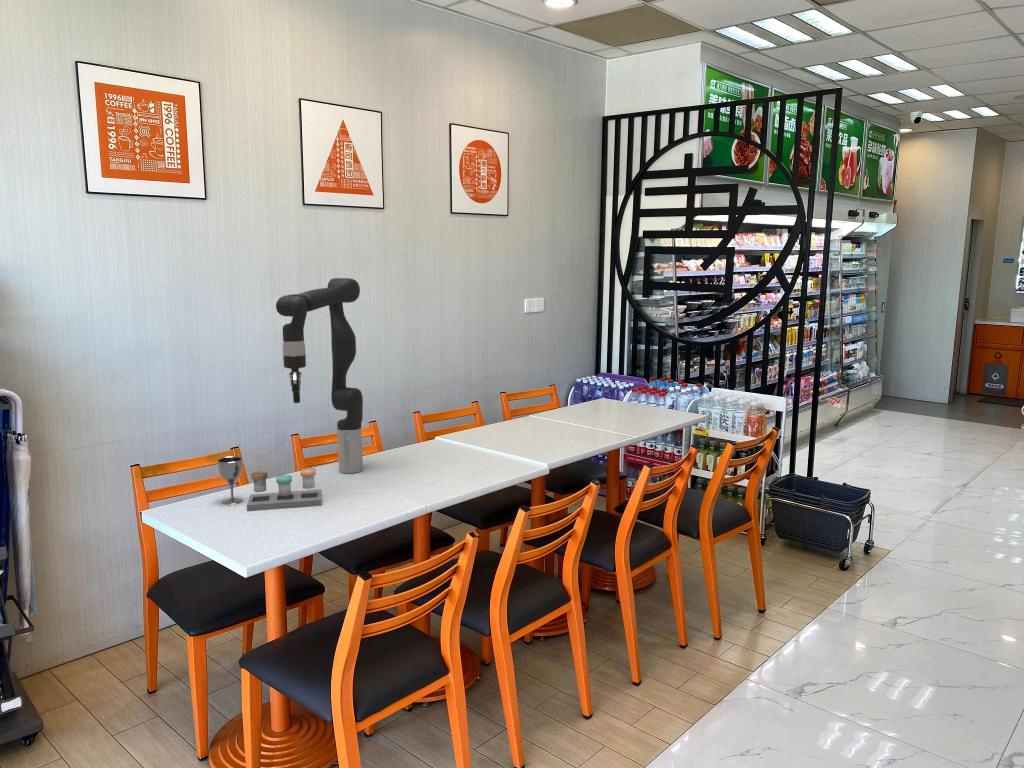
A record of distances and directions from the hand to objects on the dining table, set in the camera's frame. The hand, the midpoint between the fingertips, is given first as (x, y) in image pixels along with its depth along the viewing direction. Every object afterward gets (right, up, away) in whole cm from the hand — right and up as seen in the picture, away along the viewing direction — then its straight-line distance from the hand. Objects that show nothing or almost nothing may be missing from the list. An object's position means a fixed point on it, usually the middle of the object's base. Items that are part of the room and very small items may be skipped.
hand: (296, 402), depth 270 cm
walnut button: (-10, -30, -8) cm, 32 cm away
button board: (-3, -34, -5) cm, 35 cm away
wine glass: (-21, -34, -3) cm, 41 cm away
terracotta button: (+5, -29, -4) cm, 30 cm away
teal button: (-3, -31, -6) cm, 32 cm away
